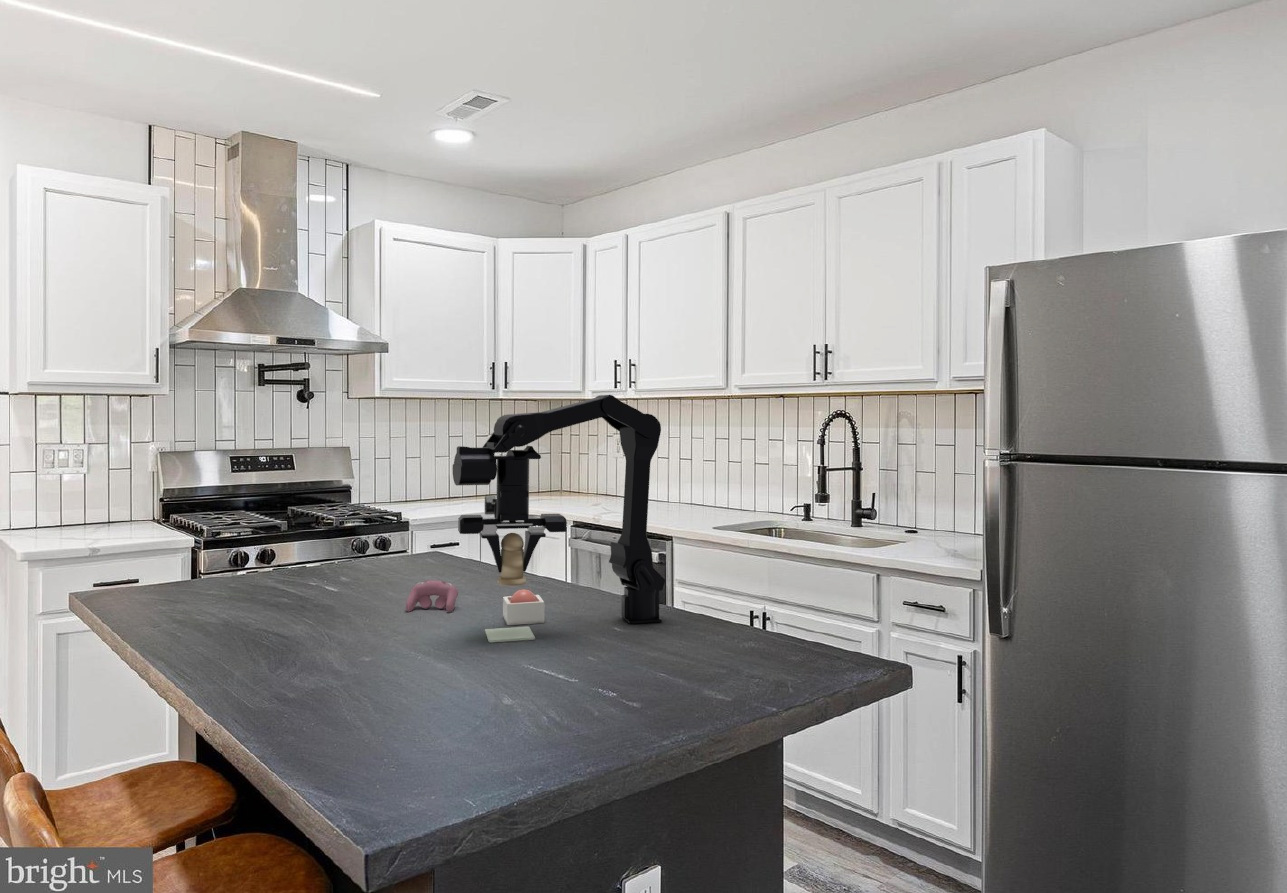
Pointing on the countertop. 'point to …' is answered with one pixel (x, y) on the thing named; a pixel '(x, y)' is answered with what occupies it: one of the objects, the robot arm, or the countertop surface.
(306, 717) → the countertop surface
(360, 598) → the countertop surface
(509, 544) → the pawn
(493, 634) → the pad
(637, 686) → the countertop surface
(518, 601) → the pink rounded piece
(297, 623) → the countertop surface
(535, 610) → the housing
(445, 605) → the video game controller
